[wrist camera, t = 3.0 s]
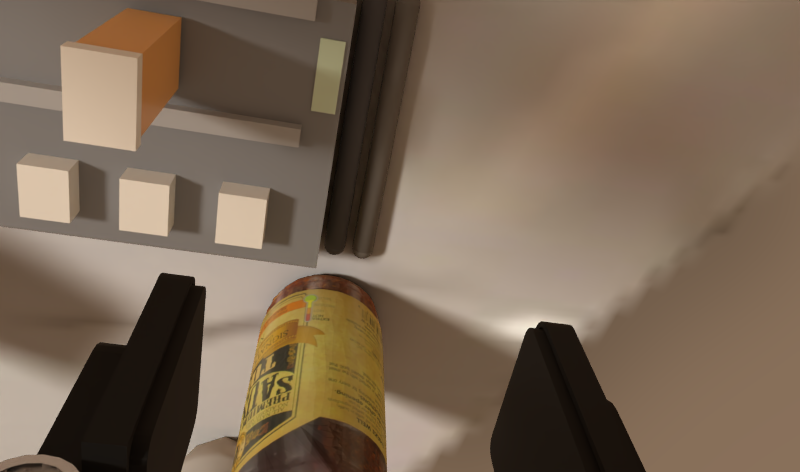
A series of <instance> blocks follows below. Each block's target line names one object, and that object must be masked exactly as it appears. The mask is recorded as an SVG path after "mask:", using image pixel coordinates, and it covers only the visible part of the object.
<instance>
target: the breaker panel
mask: <svg viewBox="0 0 800 472" xmlns="http://www.w3.org/2000/svg"><path fill="white" fill-rule="evenodd" d="M356 7H357V0H0V226H2V227H9V228H17V229H24V230H32V231H39V232H47V233H55V234H62V235H70V236H77V237H85V238H92V239H100V240H107V241H115V242H123V243H130V244H138V245H145V246H153V247H160V248H168V249H175V250H183V251H190V252H198V253H206V254H213V255H221V256H228V257H236V258H243V259H251V260H258V261H266V262H274V263H281V264H289V265H296V266H304V267H311V268H316V266H317V259H318V253H319V246H320V240H321V233H322V227H323V220H324V214H325V207H326V201H327V195H328V188H329V182H330V175H331V169H332V162H333V156H334V149H335V143H336V136H337V130H338V123H339V117H340V110H341V104H342V97H343V91H344V84H345V78H346V71H347V65H348V59H349V52H350V46H351V39H352V33H353V26H354V20H355V13H356ZM126 8H131V9H137V10H142V11H148V12H154V13H159V14H165V15H171V16H176V17H182V19H181V42H180V64H179V86H178V90H177V91H176V92H175V93H174V95H173V96H172V97H171V99H170V100H169V101H168V103H167V104H166V105H165V106H164V108H163V109H162V110H161V112H160V113H159V114H158V116H157V117H156V118H155V119H154V121H153V122H152V123H151V125H150V126H149V127H148V129H147V130H146V131H145V132H144V134H143V135H142V136H141V145H140V146H139V148H138V149H137V150H136V151H130V150H123V149H116V148H110V147H103V146H96V145H90V144H83V143H76V142H70V141H63V111H62V80H61V49H60V46H61V45H62V44H64V43H65V42H67V41H71V42H76V41H78V40H79V39H81V38H82V37H84V36H85V35H87V34H88V33H90V32H91V31H93V30H95V29H96V28H98V27H99V26H101V25H102V24H104V23H105V22H107V21H108V20H110V19H111V18H113V17H114V16H116V15H117V14H119V13H120V12H122V11H123V10H125V9H126Z"/></svg>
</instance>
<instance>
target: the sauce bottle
mask: <svg viewBox="0 0 800 472" xmlns="http://www.w3.org/2000/svg"><path fill="white" fill-rule="evenodd" d="M231 472H387V457H386V426H385V399H384V368H383V346H382V332H381V328H380V324H379V322H378V315H377V312H376V309H375V306H374V303H373V301H372V299H371V298H370V297H369V295H368V294H367V293H366V292H365V291H364V290H363V289H362V288H361V287H360V286H358V285H356V284H354V283H353V282H351V281H349V280H347V279H342V278H340V277H337V276H330V275H319V274H318V275H312V276H307V277H304V278H300V279H298V280H296V281H294V282H293V283H291V284H289V285H288V286H286V287H285V288H284V289H283V290H282V291H281V292H279V294H278V295H277V296H276V297H275V298H274V299H273V302H272V304H271V305H270V307H269V308H268V310H267V313H266V316H265V318H264V320H263V322H262V325H261V329H260V334H259V339H258V344H257V349H256V354H255V359H254V363H253V368H252V373H251V377H250V383H249V388H248V393H247V398H246V402H245V407H244V411H243V416H242V421H241V426H240V432H239V437H238V442H237V447H236V452H235V457H234V461H233V466H232V470H231Z"/></svg>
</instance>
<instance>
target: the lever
mask: <svg viewBox="0 0 800 472" xmlns="http://www.w3.org/2000/svg"><path fill="white" fill-rule="evenodd" d="M181 19H182V17H176V16H171V15H165V14H159V13H154V12H148V11H142V10H137V9H131V8H126V9H125V10H123V11H122V12H120V13H119V14H117V15H116V16H114V17H113V18H111V19H110V20H108V21H107V22H105V23H104V24H102V25H101V26H99V27H98V28H96V29H95V30H93V31H91V32H90V33H88V34H87V35H85V36H84V37H82V38H81V39H79V40H78V41H76V42H71V41H67V42H65V43H64V44H62V45H61V46H60V49H61V80H62V111H63V141H70V142H76V143H83V144H90V145H96V146H103V147H110V148H116V149H123V150H130V151H136V150H137V149H138V148H139V146H140V145H141V136H142V135H143V134H144V132H145V131H146V130H147V129H148V127H149V126H150V125H151V123H152V122H153V121H154V119H155V118H156V117H157V116H158V114H159V113H160V112H161V110H162V109H163V108H164V106H165V105H166V104H167V103H168V101H169V100H170V99H171V97H172V96H173V95H174V93H175V92H176V91H177V90H178V86H179V64H180V42H181Z"/></svg>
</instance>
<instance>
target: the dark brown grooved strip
mask: <svg viewBox="0 0 800 472" xmlns="http://www.w3.org/2000/svg"><path fill="white" fill-rule="evenodd" d="M386 4H387V0H363V3H362V10H361V16H360V22H359V29H358V35H357V41H356V48H355V54H354V60H353V67H352V73H351V79H350V86H349V92H348V98H347V105H346V111H345V117H344V124H343V130H342V136H341V143H340V149H339V156H338V162H337V168H336V175H335V181H334V187H333V194H332V200H331V206H330V213H329V219H328V225H327V232H326V238H325V249H326V250H327V252H328V253H330V254H333V255H336V254H339V253H341V252H342V251H343V249H344V247H345V241H346V235H347V230H348V224H349V218H350V212H351V207H352V201H353V195H354V189H355V183H356V178H357V172H358V166H359V160H360V154H361V149H362V143H363V137H364V131H365V126H366V120H367V114H368V108H369V102H370V97H371V91H372V85H373V79H374V74H375V68H376V62H377V56H378V50H379V45H380V39H381V33H382V27H383V21H384V16H385V10H386ZM419 8H420V0H397V2H396V7H395V13H394V19H393V24H392V30H391V35H390V41H389V47H388V52H387V58H386V63H385V69H384V74H383V80H382V86H381V91H380V97H379V102H378V108H377V114H376V119H375V125H374V130H373V136H372V142H371V147H370V153H369V158H368V164H367V169H366V175H365V181H364V186H363V192H362V197H361V203H360V209H359V214H358V220H357V225H356V231H355V237H354V242H353V253H354V254H355V256H357V257H358V258H367V257H368V256H370V254H371V253H372V250H373V245H374V239H375V234H376V229H377V224H378V219H379V214H380V209H381V203H382V198H383V193H384V188H385V183H386V178H387V173H388V167H389V162H390V157H391V152H392V147H393V142H394V136H395V131H396V126H397V121H398V116H399V111H400V106H401V100H402V95H403V90H404V85H405V80H406V75H407V69H408V64H409V59H410V54H411V49H412V44H413V39H414V33H415V28H416V23H417V18H418V13H419Z"/></svg>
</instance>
